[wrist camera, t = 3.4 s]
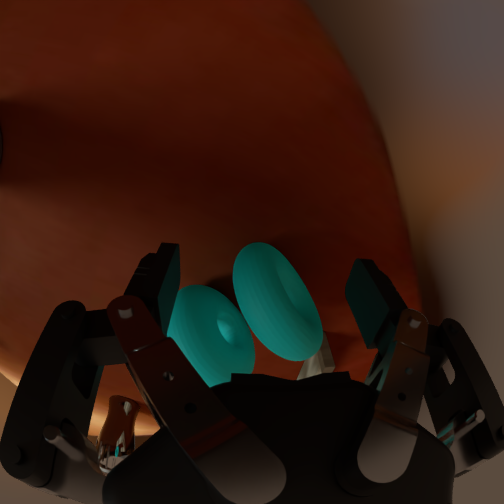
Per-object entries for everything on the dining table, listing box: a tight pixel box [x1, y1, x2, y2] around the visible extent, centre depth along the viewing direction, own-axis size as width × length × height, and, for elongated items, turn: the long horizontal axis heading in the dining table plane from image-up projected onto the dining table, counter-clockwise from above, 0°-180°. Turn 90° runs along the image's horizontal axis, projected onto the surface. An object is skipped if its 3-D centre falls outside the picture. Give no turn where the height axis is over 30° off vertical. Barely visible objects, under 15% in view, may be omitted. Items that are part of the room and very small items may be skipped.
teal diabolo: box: [167, 242, 323, 388], centre depth 22 cm, size 10×10×10 cm
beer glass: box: [95, 396, 140, 473], centre depth 34 cm, size 7×7×15 cm
